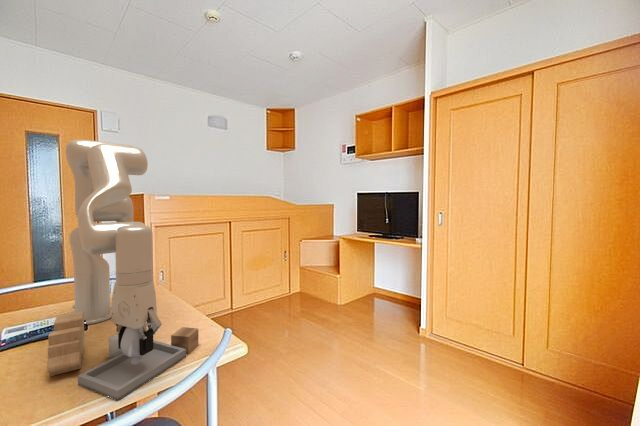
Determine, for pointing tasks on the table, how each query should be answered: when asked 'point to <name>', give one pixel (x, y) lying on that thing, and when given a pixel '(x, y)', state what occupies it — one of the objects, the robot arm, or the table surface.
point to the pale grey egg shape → (114, 347)
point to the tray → (130, 371)
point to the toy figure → (132, 344)
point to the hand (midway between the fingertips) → (136, 348)
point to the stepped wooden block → (66, 344)
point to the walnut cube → (185, 339)
